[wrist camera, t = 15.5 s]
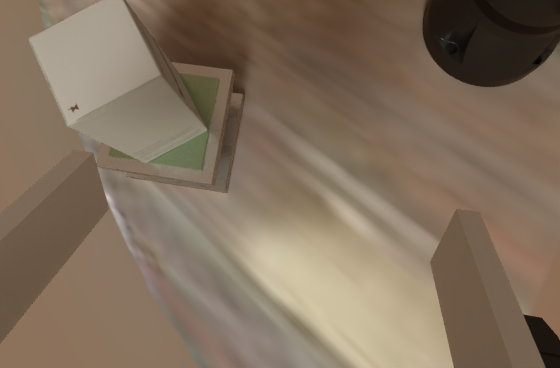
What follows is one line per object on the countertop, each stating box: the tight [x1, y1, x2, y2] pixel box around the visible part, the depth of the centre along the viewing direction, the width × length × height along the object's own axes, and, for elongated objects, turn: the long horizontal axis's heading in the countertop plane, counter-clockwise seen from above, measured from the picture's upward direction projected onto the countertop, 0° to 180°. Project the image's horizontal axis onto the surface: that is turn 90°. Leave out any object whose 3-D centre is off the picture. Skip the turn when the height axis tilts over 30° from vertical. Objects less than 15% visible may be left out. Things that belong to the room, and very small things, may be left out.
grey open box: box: [97, 62, 244, 193], centre depth 41 cm, size 12×12×8 cm
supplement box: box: [29, 0, 208, 163], centre depth 31 cm, size 7×7×13 cm
